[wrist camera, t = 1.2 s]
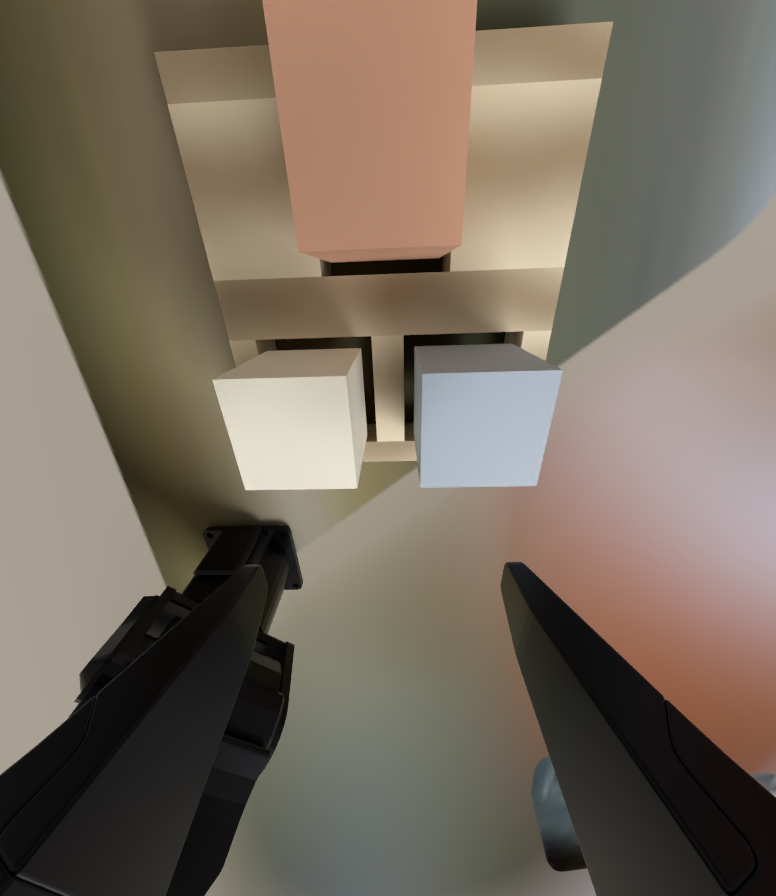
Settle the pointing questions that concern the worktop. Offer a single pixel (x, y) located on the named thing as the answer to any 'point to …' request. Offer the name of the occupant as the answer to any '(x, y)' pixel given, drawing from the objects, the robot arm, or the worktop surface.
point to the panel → (408, 294)
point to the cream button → (296, 418)
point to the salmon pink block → (374, 123)
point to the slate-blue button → (481, 414)
